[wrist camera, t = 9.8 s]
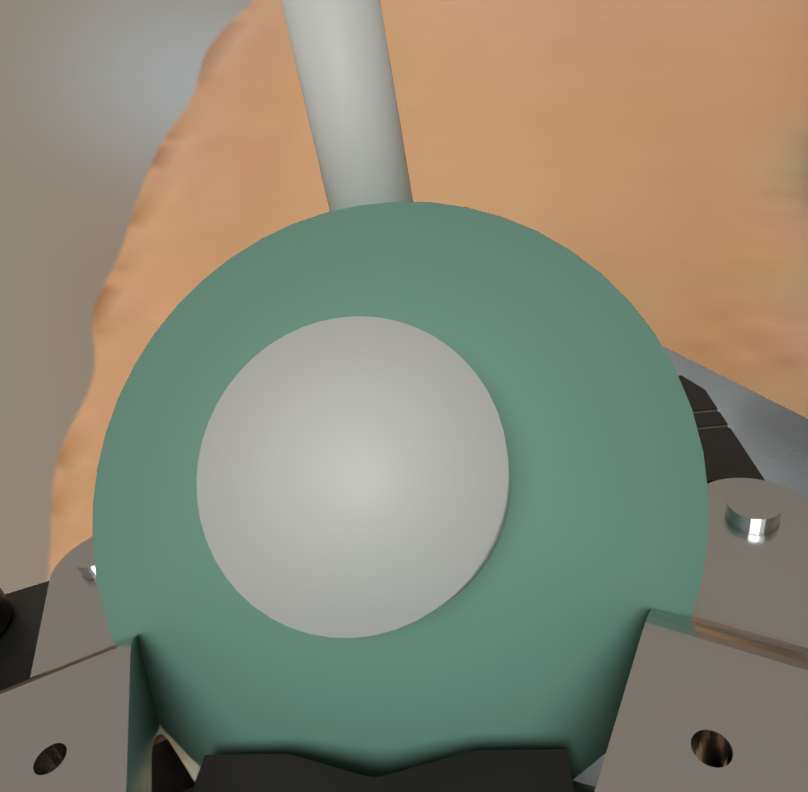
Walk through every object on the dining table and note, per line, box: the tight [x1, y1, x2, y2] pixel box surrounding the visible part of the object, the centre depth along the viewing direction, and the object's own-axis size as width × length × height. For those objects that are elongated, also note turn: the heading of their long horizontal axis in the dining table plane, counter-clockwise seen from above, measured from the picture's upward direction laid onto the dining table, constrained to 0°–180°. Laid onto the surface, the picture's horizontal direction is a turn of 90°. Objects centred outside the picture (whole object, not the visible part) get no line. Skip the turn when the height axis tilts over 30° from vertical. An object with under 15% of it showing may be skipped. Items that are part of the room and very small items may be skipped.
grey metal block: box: [573, 346, 808, 787], centre depth 22 cm, size 21×16×8 cm
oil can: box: [93, 0, 709, 780], centre depth 10 cm, size 9×6×12 cm
